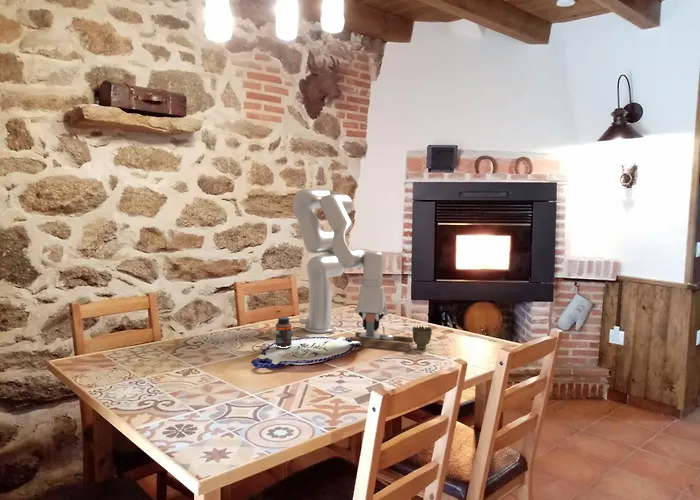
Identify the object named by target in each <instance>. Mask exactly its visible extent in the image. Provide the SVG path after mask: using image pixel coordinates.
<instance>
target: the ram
mask: <svg viewBox="0 0 700 500" xmlns="http://www.w3.org/2000/svg"><path fill="white" fill-rule="evenodd" d="M375 319H376V315H375V313H367V314H366V330H365V331H362V333H361V334H360V335H359V338H364V339H374V340H385V341H394V336H395V335H393V336H390V335H391V334H383V333H377V332H376V331H375V330H374V323H375ZM382 334H383V335H382Z"/></svg>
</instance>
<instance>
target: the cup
mask: <svg viewBox="0 0 700 500" xmlns="http://www.w3.org/2000/svg"><path fill="white" fill-rule="evenodd" d="M411 329H412V337H413V343H414V344H415V345H416V349H418V350H426V348H427V345H428V344H430V342H431V338H432V332H433V329H432V328H431V326H425V327H424V326H421V325H420V326H413V327H412V328H411Z"/></svg>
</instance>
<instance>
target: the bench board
mask: <svg viewBox="0 0 700 500" xmlns="http://www.w3.org/2000/svg"><path fill="white" fill-rule="evenodd" d="M362 332H363V331H362ZM362 332H359V331H355V334H354V335H355V336H353V337H352V336H350V338H349V342H350V341H360V342H361V345H360V346H359V347H365V348H373V349H375V348H376V349H384V350H385V349H386V350H394V351H405V352H409V351H410V350H411V348H412V346H413V345H414V340H413V336H412V337H411V336H400V335H393V334H389V335H390V336H394V341H385V340H374V339H364V338H359V335H360V334H361V333H362ZM381 334H382V335H384V334H383V333H381Z"/></svg>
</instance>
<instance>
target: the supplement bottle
mask: <svg viewBox="0 0 700 500" xmlns="http://www.w3.org/2000/svg"><path fill="white" fill-rule="evenodd" d="M277 321H278V322H277V323H276V324H275V346H276V345H277V346H281V347H286V346H290V345H291V346H292V335H293V334H292V329H293V328H292V323H290V317H288V316H279V317H278V320H277Z"/></svg>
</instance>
